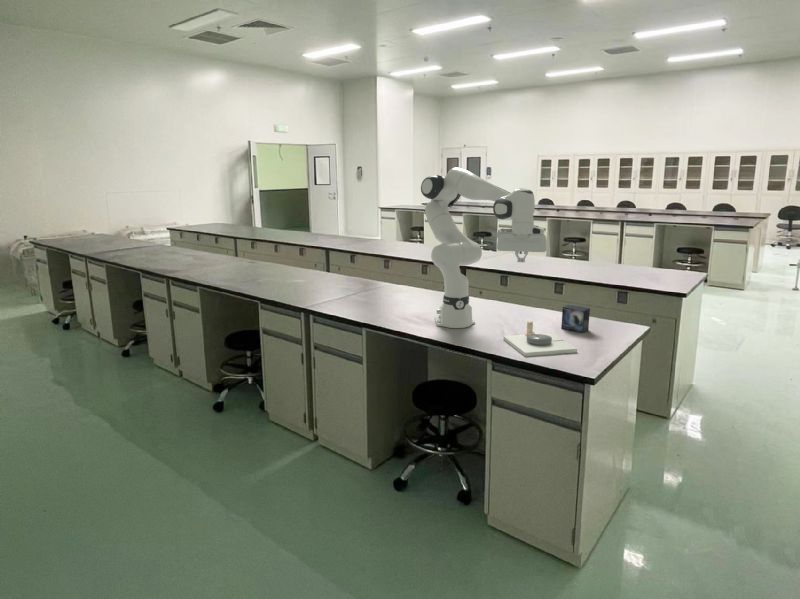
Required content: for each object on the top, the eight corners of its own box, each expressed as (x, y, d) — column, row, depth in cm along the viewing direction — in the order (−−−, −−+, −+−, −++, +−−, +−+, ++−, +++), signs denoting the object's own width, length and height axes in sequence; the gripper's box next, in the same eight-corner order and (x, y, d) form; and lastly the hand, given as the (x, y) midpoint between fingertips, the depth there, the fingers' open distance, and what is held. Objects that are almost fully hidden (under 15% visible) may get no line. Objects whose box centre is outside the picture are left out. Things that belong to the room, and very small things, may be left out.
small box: (560, 328, 237) (561, 306, 235) (567, 325, 242) (568, 304, 239) (582, 333, 230) (583, 310, 228) (589, 330, 234) (590, 307, 232)
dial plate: (503, 339, 223) (503, 336, 222) (551, 336, 227) (551, 332, 226) (524, 356, 202) (525, 352, 201) (577, 352, 205) (577, 348, 205)
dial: (555, 344, 210) (556, 330, 208) (532, 345, 208) (533, 332, 207) (539, 333, 225) (539, 320, 223) (517, 334, 223) (517, 321, 222)
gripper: (495, 229, 214) (495, 262, 218) (547, 230, 208) (545, 264, 211) (498, 227, 220) (497, 260, 223) (548, 228, 214) (546, 261, 217)
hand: (521, 262), depth 217 cm, fingers closed
